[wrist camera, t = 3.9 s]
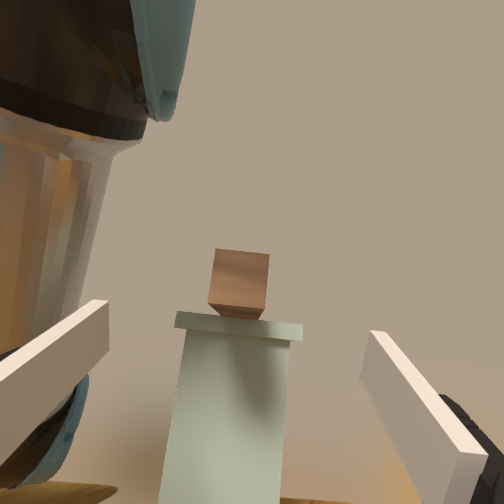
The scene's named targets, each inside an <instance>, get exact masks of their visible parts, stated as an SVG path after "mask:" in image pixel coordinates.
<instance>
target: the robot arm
mask: <svg viewBox="0 0 504 504" xmlns="http://www.w3.org/2000/svg"><path fill="white" fill-rule="evenodd" d="M195 3H196V0H0V488H8V489H11V490H12V489H17V488H20V487H23V486H24V485H30V484H37V483H42V482H45V481H47V480H49V479H50V478H52V477H53V476H54V475H55V474H56V473H57V471H58V470H59V469H60V467H61V466H62V464H63V462H64V460H65V458H66V456H67V454H68V452H69V449H70V447H71V444H72V441H73V437H74V433H75V432H76V430H77V427H78V425H79V422H80V419H81V415H82V412H83V409H84V405H85V401H86V397H87V392H88V387H89V375H88V374H87V373H88V372H89V371H90V370H91V369H92V368H93V367H94V366H95V365H96V364H97V363H98V362H99V360H100V359H101V358H102V357H103V356H104V355H105V354H106V353H107V352H108V351H109V301H103V300H95V299H94V300H92V301H91V302H89V303H88V304H86V305H85V306H83V307H82V308H80V309H79V310H77V309H78V305H79V300H80V296H81V292H82V288H83V284H84V279H85V275H86V271H87V266H88V262H89V258H90V254H91V249H92V245H93V241H94V237H95V232H96V228H97V224H98V220H99V215H100V211H101V207H102V202H103V198H104V194H105V190H106V185H107V181H108V177H109V173H110V168H111V164H112V160H113V157H114V156H115V155H116V154H117V153H119V152H121V151H123V150H126V149H128V148H130V147H132V146H135V145H137V144H139V143H140V142H141V141H142V138H143V134H144V130H145V126H146V123H147V119H148V117H150V118H151V119H153V120H155V121H156V122H159V121H164V122H165V121H169V120H170V119H171V118H172V116H173V114H174V110H175V107H176V101H177V97H178V91H179V86H180V83H181V79H182V75H183V71H184V65H185V61H186V55H187V50H188V45H189V39H190V33H191V27H192V21H193V15H194V8H195ZM360 380H361V382H362V384H363V386H364V388H365V390H366V392H367V394H368V396H369V398H370V400H371V402H372V404H373V406H374V408H375V410H376V412H377V414H378V416H379V418H380V420H381V422H382V424H383V426H384V428H385V430H386V432H387V434H388V436H389V438H390V440H391V442H392V444H393V446H394V448H395V450H396V452H397V454H398V456H399V458H400V460H401V462H402V464H403V466H404V468H405V470H406V472H407V474H408V476H409V478H410V480H411V482H412V484H413V486H414V488H415V490H416V492H417V494H418V496H419V498H420V500H421V502H422V504H504V455H503V454H502V453H501V451H500V450H499V449H498V448H497V447H496V446H495V445H494V444H493V442H492V441H491V440H490V439H489V438H488V437H487V436H486V435H485V434H484V432H483V431H482V430H479V427H478V426H477V425H476V424H475V422H474V421H473V420H471V419H470V417H469V416H468V414H467V413H466V412H465V411H464V410H463V409H462V408H461V407H460V406H459V405H458V404H457V403H455V402H454V401H453V400H451V399H450V398H449V397H447V396H446V395H441V394H437V393H436V392H435V390H434V389H433V388H432V387H431V386H430V384H429V383H428V382H427V381H426V380H425V379H424V377H423V376H422V375H421V374H420V373H419V371H418V370H417V369H416V368H415V367H414V365H413V364H412V363H411V362H410V361H409V359H408V358H407V357H406V356H405V355H404V354H403V352H402V351H401V350H400V349H399V347H398V346H397V345H396V344H395V343H394V341H393V340H392V339H391V338H390V337H389V336H388V334H387V333H386V332H381V331H372V330H370V333H369V338H368V342H367V347H366V352H365V356H364V361H363V366H362V370H361V375H360Z"/></svg>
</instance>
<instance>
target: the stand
mask: <svg viewBox="0 0 504 504" xmlns="http://www.w3.org/2000/svg"><path fill="white" fill-rule="evenodd" d="M174 327H176V328H182V329H187V331H186V337H185V343H184V349H183V354H182V361H181V367H180V373H179V379H178V384H177V391H176V396H175V402H174V408H173V415H172V421H171V426H170V432H169V438H168V445H167V450H166V456H165V462H164V468H163V474H162V480H161V486H160V492H159V497H158V503H157V504H280V488H281V472H282V457H283V441H284V440H283V439H284V425H285V410H286V395H287V379H288V363H289V348H290V341H302V337H303V325H300V324H290V323H282V322H272V321H263V320H255V319H246V318H237V317H227V316H217V315H209V314H200V313H191V312H182V311H177V314H176V319H175V325H174Z"/></svg>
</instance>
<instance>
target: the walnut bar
mask: <svg viewBox="0 0 504 504" xmlns="http://www.w3.org/2000/svg"><path fill="white" fill-rule="evenodd" d="M268 265H269V254H261V253H252V252H243V251H234V250H224V249H216V250H215V257H214V263H213V270H212V276H211V283H210V290H209V297H208V304H209V305H210V306H211V307H212V308H213V309H215V310H216V311H217V312H218V313H219V314H220V315H221V316H227V317H237V318H246V319H255V320H258V319H259V317H260V316H261V314H262V312H263V311H264V308H265V298H266V287H267V276H268Z"/></svg>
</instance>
